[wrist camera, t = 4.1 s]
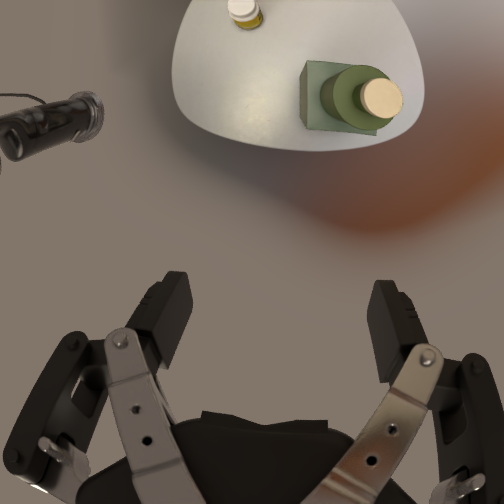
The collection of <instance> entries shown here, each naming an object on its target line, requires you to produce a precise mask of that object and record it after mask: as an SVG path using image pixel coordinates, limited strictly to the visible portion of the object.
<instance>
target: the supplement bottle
mask: <svg viewBox="0 0 504 504" xmlns="http://www.w3.org/2000/svg"><path fill="white" fill-rule="evenodd" d="M228 12H229V15H230V16H231V18H232V19H233V20H234V22H235V23H236V24H237V26H238V27H240V28H241V29H244V30H253V29H255V28H257V27H259V26H260V25H261V23H262V21H263V16H262V13H261V10H260V8H259V5H258V3H257V2H256V1H255V0H229V2H228Z"/></svg>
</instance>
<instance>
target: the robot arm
mask: <svg viewBox="0 0 504 504" xmlns="http://www.w3.org/2000/svg"><path fill="white" fill-rule="evenodd" d="M0 96H17V97H18V96H20V97H29V98H32V99H34V100H37V101H39V102H40V103H42V104H43V105H39V106H34V107H31V108H26V109H23V110H19V111H16V112H12V113H8V114H5V115H2V116H0V148H1V149H2V151H3V153H4V154H5V156H6V157H7V158H8V159H9V160H11V161H14V162H17V161H21V160H23V159H25V158H28V157H30V156H32V155H35V154H37V153H39V152H42V151H44V150H46V149H49V148H52V147H54V146H57V145H59V144H62V143H65V142H68V141H70V140H71V141H70V142H73V141H74V139H76V138H80V137H83V136H85V135H86V134H87V133H88V132H89V131H90V130H91V128H92V125H93V122H94V110H93V107H92V105H91V103H90V102H89V101H88V100H87V99H86V98H82V97H79V98H74V99H69V100H63V101H58V102H53V103H48V104H46V103H45V102H44V101H43V100H41V99H39V98H37V97H34V96H32V95H29V94H0ZM0 174H1V160H0ZM192 308H193V299H192V294H191V289H190V285H189V280H188V275H187V273H186V272H177V271H169V272H168V273H167V274H166V276H165V277H164V279H163V280H162V282H156V283H155V284H154V285H153V286H151V287H150V288H149V289H148V291H147V292H146V294H145V295H144V298H142V300H141V302H140V305H138V307H137V308H136V310H135V311H134V313H133V314H132V316H131V318H130V319H129V321H128V323H127V324H126V326H125V327H124V328H119V329H116V330H114V331H112V332H111V333H110V334H108V336H107V337H106V339H102V340H88V338H87V336H86V335H85V333H83V332H81V331H74V332H71V333H69V334H67V335H66V336H64V337H63V338H62V340H61V341H60V343H59V344H58V346H57V348H56V349H55V351H54V353H53V354H52V356H51V358H50V359H49V361H48V362H47V364H46V366H45V368H44V370H43V371H42V373H41V375H40V376H39V378H38V380H37V382H36V383H35V385H34V387H33V389H32V391H31V393H30V395H29V397H28V398H27V400H26V403H25V404H24V406H23V409H22V410H21V412H20V415H19V417H18V419H17V421H16V423H15V425H14V427H13V430H12V432H11V434H10V436H9V439H8V441H7V443H6V446H5V448H4V451H3V462H4V465H5V467H6V469H7V470H8V471H9V472H10V473H12V474H13V475H15V476H17V477H19V478H20V479H22V480H24V481H25V482H26V483H28V484H30V485H32V486H34V487H36V488H38V489H40V490H42V491H44V492H47V493H50V494H51V495H53V496H55V497H57V498H58V499H60V500H61V501H63V502H65V503H67V504H417V503H416V502H415V501H414V500H413V499H412V498H411V497H410V496H409V495H408V494H407V493H406V492H404V490H403V489H401V487H400V486H399V485H398V484H397V483H396V482H395V481H393V479H392V478H391V476H392V474H393V473H394V471H395V470H396V468H397V466H398V465H399V463H400V461H401V460H402V458H403V457H404V455H405V453H406V452H407V450H408V448H409V446H410V444H411V443H412V441H413V439H414V437H415V436H416V434H417V432H418V430H419V428H420V426H421V424H422V422H423V420H424V418H425V416H426V413H427V411H428V410H432V414H433V420H434V427H435V434H436V443H437V452H438V464H439V480H440V483H439V484H438V485H437V486H436V487H435V489H434V490H433V492H432V494H431V498H430V500H429V504H504V411H503V407H502V403H501V400H500V396H499V393H498V390H497V387H496V384H495V381H494V378H493V375H492V372H491V369H490V367H489V364H488V362H487V361H486V359H485V358H484V357H482V356H481V355H479V354H476V353H470V354H467V355H466V356H465V357H464V358H463V360H462V361H456V360H450V359H445V358H443V355H442V353H441V352H440V350H439V349H438V348H436V347H435V346H433V345H431V344H429V343H428V340H427V337H426V335H425V332H424V329H423V327H422V325H421V322H420V320H419V318H418V315H417V312H416V311H415V307H414V305H413V303H412V301H411V299H410V298H409V297H408V296H407V295H406V294H405V293H404V292H398V289H397V287H396V285H395V283H394V281H393V280H376V281H375V283H374V287H373V291H372V294H371V298H370V302H369V305H368V309H367V322H368V326H369V330H370V335H371V340H372V344H373V349H374V354H375V359H376V363H377V369H378V374H379V380H380V383H386V382H389V385H390V389H389V390H388V392H387V394H386V395H385V397H384V398H383V400H382V402H381V403H380V405H379V406H378V408H377V409H376V411H375V412H374V414H373V415H372V417H371V418H370V419H369V421H368V422H367V424H366V425H365V427H364V428H363V429H362V431H361V432H360V433H359V435H358V436H357V437H356V439H355V440H354V439H352V438H351V437H350V436H348V435H346V434H344V433H342V432H340V431H338V430H335V429H331V428H328V420H294V421H289V422H282V423H276V424H270V425H260V424H257V423H254V422H251V421H248V420H245V419H242V418H239V417H236V416H234V415H228V414H221V413H214V412H208V411H202V415H201V418H196V419H190V420H186V421H183V422H180V423H177V421H176V419H175V417H174V415H173V413H172V411H171V409H170V407H169V404H168V402H167V400H166V397H165V395H164V392H163V390H162V388H161V385H160V382H159V380H158V377H157V375H156V373H157V370H158V368H163V369H168V368H169V366H170V363H171V361H172V358H173V356H174V354H175V351H176V349H177V346H178V344H179V341H180V339H181V336H182V334H183V332H184V329H185V327H186V325H187V322H188V320H189V317H190V315H191V313H192ZM78 378H80V379H81V380H80V383H79V384H78V387H77V388H76V391H75V393H74V395H73V397H72V399H71V393H72V391H73V388H74V386H75V384H76V382H77V380H78ZM108 395H109V397H110V401H111V405H112V409H113V413H114V417H115V420H116V424H117V428H118V431H119V435H120V438H121V441H122V444H123V447H124V450H125V453H126V456H125V457H124V458H122V459H121V460H119V461H117V462H116V463H114V464H112V465H110V466H109V467H107V468H105V469H104V470H102V471H100V472H99V473H96V474H95V475H93V476H91V477H88V475H89V474H90V472H91V469H90V467H89V461H88V458H87V456H86V452H87V449H88V446H89V444H90V441H91V438H92V435H93V433H94V430H95V427H96V425H97V422H98V420H99V417H100V414H101V412H102V409H103V407H104V405H105V402H106V400H107V397H108Z"/></svg>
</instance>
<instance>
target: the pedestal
mask: <svg viewBox="0 0 504 504" xmlns="http://www.w3.org/2000/svg"><path fill="white" fill-rule="evenodd" d="M352 66H356V65H350V64H342V63H333V62H322V61H308V60H307V62H306V64H305V66H304V68H303V71H302V73H301V75H300V118H301V120H302V122H303V123H304V125H305V127H306V129H310V130H325V131H337V132H348V133H357V134H365V135H373V136H376V133H377V130H361V129H358V128H355V127H353V126H351V125H349V124H347V123H344V122H342V121H340V120H338V119H335V118H333V117H332V116H330V115H329V114H328V113H327V112H326V111H325V110H324V108H323V107H322V105H321V102H320V89H321V86H322V85H323V83H324V82H325V81H326V80H327V79H328V78H330V77H332V76H334V75H336V74H337V73H339V72H341V71H343V70H345V69H347V68H349V67H352ZM378 70H379V69H378Z"/></svg>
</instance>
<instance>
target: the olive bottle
mask: <svg viewBox="0 0 504 504" xmlns="http://www.w3.org/2000/svg"><path fill="white" fill-rule="evenodd" d="M320 102H321V105H322V107H323V108H324V110H325V111H326V112H327V113H328V114H329V115H330V116H332V117H333V118H335V119H338V120H340V121H342V122H344V123H347V124H349V125H351V126H353V127H355V128H358V129H361V130H377V129H380V128H382V127H384V126H386V125H387V124H388V123H389V122H390V121H391V120H392V119H393V117H394V116H395V115H397V114H398V113H399V112H400V110H401V108H402V105H403V97H402V93H401V91H400V89H399V88H398V86H397V85H396V84H395V83H393V82H392V81H391V80H390V79H389V78H388V77H387V76H386V75H385V74H384V73H383V72H381V71H380V70H378V69H376V68H374V67H371V66H367V65H356V66H352V67H349V68H347V69H345V70H343V71H341V72H339V73H337V74H336V75H334V76H332V77H330V78H328V79H327V80H326V81H325V82H324V83H323V85H322V86H321V89H320Z"/></svg>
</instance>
